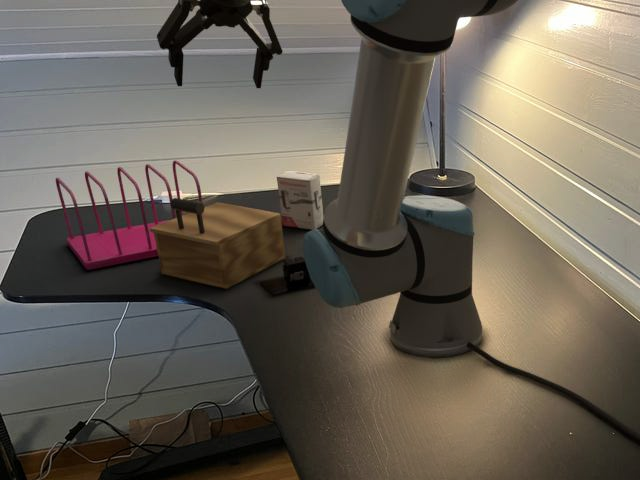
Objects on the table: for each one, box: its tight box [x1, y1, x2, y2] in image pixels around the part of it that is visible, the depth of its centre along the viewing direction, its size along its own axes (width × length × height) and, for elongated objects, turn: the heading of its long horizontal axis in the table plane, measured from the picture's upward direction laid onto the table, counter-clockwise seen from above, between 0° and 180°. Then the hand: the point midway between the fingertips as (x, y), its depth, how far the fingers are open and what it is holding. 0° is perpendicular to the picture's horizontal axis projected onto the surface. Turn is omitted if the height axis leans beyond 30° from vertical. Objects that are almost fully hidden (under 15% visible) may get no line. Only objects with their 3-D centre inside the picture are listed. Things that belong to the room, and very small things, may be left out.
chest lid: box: [150, 197, 282, 246], centre depth 140 cm, size 18×16×7 cm
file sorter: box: [55, 160, 204, 271], centre depth 151 cm, size 17×25×16 cm
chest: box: [154, 217, 286, 290], centre depth 145 cm, size 18×16×9 cm
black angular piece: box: [260, 256, 316, 297], centre depth 139 cm, size 12×7×5 cm, turn 123°
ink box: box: [276, 170, 324, 231], centre depth 166 cm, size 9×5×12 cm, turn 73°
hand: (218, 82), depth 130 cm, fingers open, 13 cm apart
